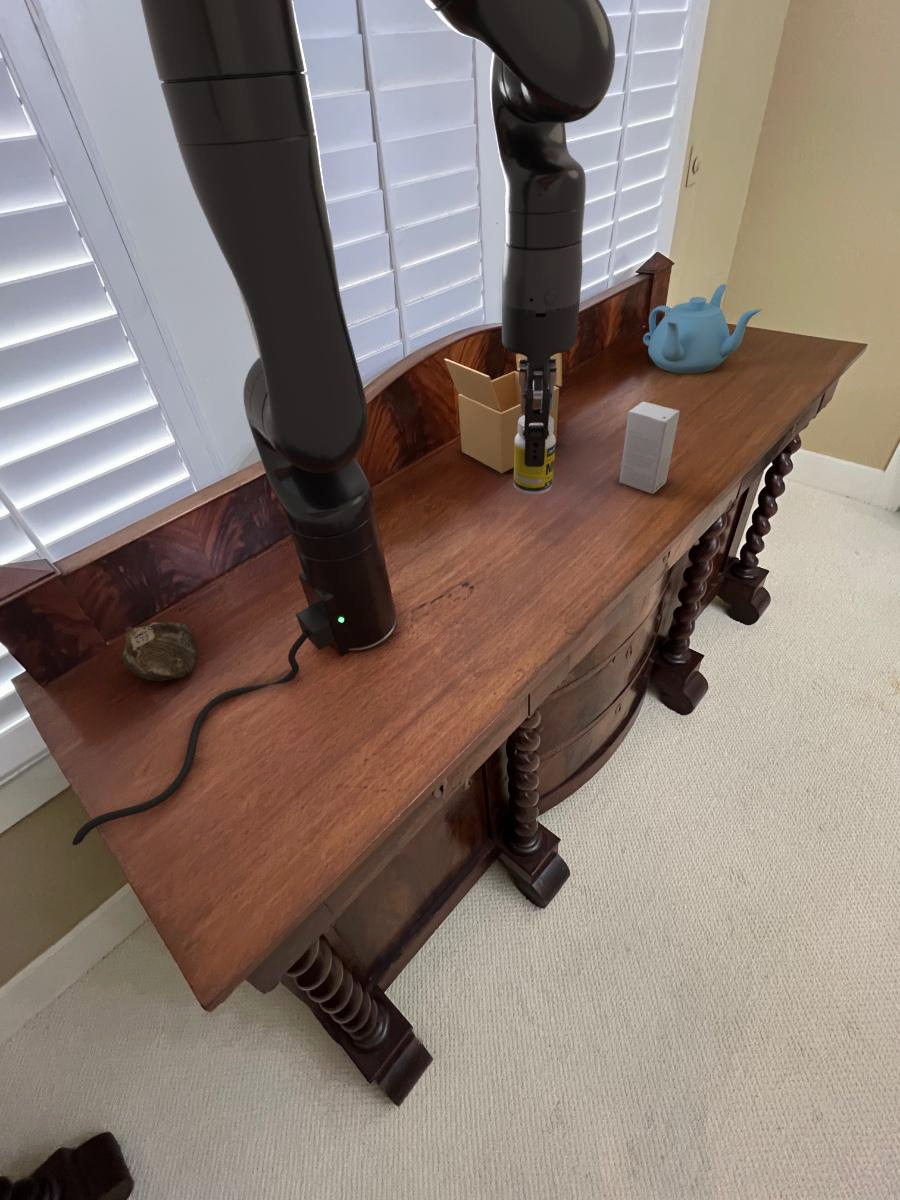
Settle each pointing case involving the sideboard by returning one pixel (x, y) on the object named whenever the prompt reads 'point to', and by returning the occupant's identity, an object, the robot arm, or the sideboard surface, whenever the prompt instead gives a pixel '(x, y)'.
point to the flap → (473, 384)
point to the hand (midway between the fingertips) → (534, 452)
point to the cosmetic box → (648, 446)
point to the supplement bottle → (533, 477)
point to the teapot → (693, 335)
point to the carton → (498, 420)
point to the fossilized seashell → (160, 651)
